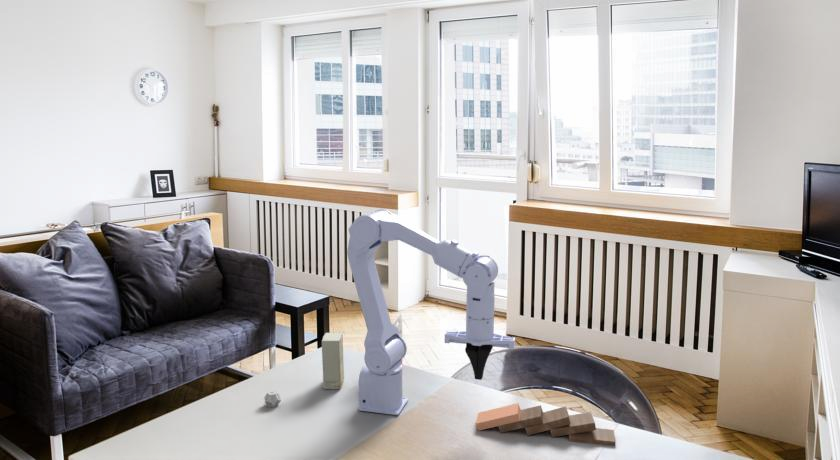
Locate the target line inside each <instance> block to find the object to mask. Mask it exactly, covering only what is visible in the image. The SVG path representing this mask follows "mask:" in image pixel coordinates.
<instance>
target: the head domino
mask: <svg viewBox="0 0 840 460" xmlns="http://www.w3.org/2000/svg"><path fill="white" fill-rule="evenodd" d="M521 410H522V409H521V407H520V404H519V402H517V403H514V404H508V405H505V406H500V407H497V408H493V409H492V408H491V409H488V410H484V411H480V412H478V413H477V417H476V422H475V425H476V429H477V431H483V430H486V429H491V428H495V427H496V428H497V427H498V426H500V425H505V424H509V423H513V422H517V421H520V413H521Z"/></svg>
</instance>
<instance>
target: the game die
mask: <svg viewBox="0 0 840 460" xmlns="http://www.w3.org/2000/svg"><path fill="white" fill-rule="evenodd" d="M263 399H264V403H265V405H266V406H267V407H269V408H275V407H277V406H279V404H280V402H282V399H281V394H279V392H278V391H275V390H270V391H268V392H267V393H266V394H265V396H264V398H263Z"/></svg>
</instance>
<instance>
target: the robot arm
mask: <svg viewBox="0 0 840 460" xmlns="http://www.w3.org/2000/svg"><path fill="white" fill-rule="evenodd" d="M348 232H349V233H348V234H349V240H348V244H347V250H346V251H347V252H346V253H347V260H348V263H349V266H350V270H351V274H352V278H353V282H354V286H355V288H356V293H357V295H358V296H357V297H358V301H359V303H360V308H361V310H362V315H363V318H364V322H365V326H366V329H367V332H366V335H365V337H364V338H365V339H364V342H363V344H364V345H363V346H364V349H365V352H364V363H365V365H364V366H363V367H362V368H361V370H360V372H359V374H358V375H359V376H358V407H357V411H360V412H368V413H376V414H377V413H378V414H386V415H393V416H399V415H400V414H401V412H402V411H403V409H404V407H405V406H406V404H407V402H408V401H409V399H408V397H403V359H404V358H405V356H406V354H407V349H408V348H407V343H406V342H405V339H404V338H403V336H402V337H401V336H400V334H399V331H398V328H397V327H396V326H394V325H393V322H392V321H391V317H390V314H389V310H388V307H387V302H386V299H385V294H384V291H383V288H382V287H383V286H382V283H381V279H380V276H379V272H378V269H377V264H376V261H375V260H376V259H375V257H374V256H375V254H376V252H377V250H378V249H379V248H380V246H381V244H382V243H384V242H392V241H400V242H403V243H404V244H406V245H408V246H410V247H412V248H415V249H417V250H419V251H421V252H423V253H425V254H427V255H430V256H431V258H432V260H433V263H434V264H435V265H436V266H438V267H440V268H441V269H444V270H446V271H448V272H449V273H451V274H453V275H455V276H457V277H458V278H460V279H462V281H463V283H464V285H465V286H466V303H465V304H466V306H465V307H466V309H465V310H466V312H465V314H466V316H465V331H461V330H460V331H446V332H445V333H444V344H450V343H453V344H454V343H455V344H463V345H465V348H464V349H465V350H464V351H465V353H466V356H467V358H468V359H469V361H470V364H471V367H472V371H473V376H474V379H475V380H479V381H481V380H483V378H484V372H485V371H484V370H485V368H486V364H487V361H488V358H489V356H490V354H491V352H492V349H493V347H496V348H506V349H508V350H515V347H516V337H513V336H512V337H511V336H505V335H502V334H497V333H494V332H495V331H494V330H495V329H494V328H495V327H494V326H495V282H494V281H495V279H497V276H498V274H499V267H498V264H497V262H496V261H495V260H494V258H491V257H490V255H487V254H482V255H480V254H479V253H478V252H476V251H473V252H472V251H470V250H468V249H467V248H465V247H463V246H461V245H459V241H458V240H456V239H452V240H449V239H445V240H441V241H440V240H439V239H436V238H434V237H433V236H431V235H429V234H428V233H426V232H425V231H423V230H421V229H419V228H418V227H416V226H414V225H413V224H411V223H409V221H406V220H404V219H403V218H402V217H401V216H400V215H398V214H396V213H392V212H391V211H390V210H388V209H386V208H385V209H384V208H380V209H377V210H375V211H374V212H370V213H367V214H363V215H359V216H358V217H357V218H355V219H354V221H353V222H352V224H351V225H350V226H349V228H348Z"/></svg>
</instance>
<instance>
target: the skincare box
mask: <svg viewBox="0 0 840 460" xmlns="http://www.w3.org/2000/svg"><path fill="white" fill-rule="evenodd" d="M343 342H344V340H343V332H325V333H324V335H323V336H322V340H321V358H322V361H321V362H322V377H323V378H322V381H323V383H322V384H323V389H324V390H341V389H342V388H343V384H344V382H345V381H344V380H345V363H344V361H345V359H344V343H343Z"/></svg>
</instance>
